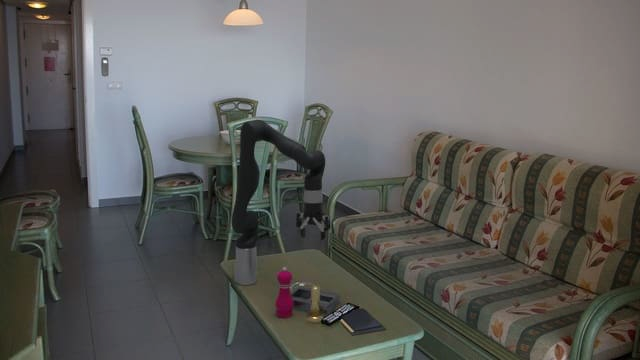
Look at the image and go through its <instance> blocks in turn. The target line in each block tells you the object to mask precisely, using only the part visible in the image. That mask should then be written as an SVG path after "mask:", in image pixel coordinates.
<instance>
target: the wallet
mask: <svg viewBox="0 0 640 360" xmlns="http://www.w3.org/2000/svg"><path fill="white" fill-rule="evenodd" d="M355 309H356V310H354V309H352V310H353V311H352V312H350V313H348V314H346V315H344V316H342V319H341V320H340V321H341V322H342V323H341V324H342V325H343V326H342V325H341V326H342V328H344V329H345V330H346V331H347V332H348V333H349V334H350V335H351V336H352V337H353V336H362V335H365V334H366V335H367V334H371V333H378V332H384V331H386V330H387V328H386V327H385V326H384V325H383V324H382V323H381V322H379V321H378V319H376V318H375V317H374V316H373V315H372V314H371V313H370V312H369V311H368V310H367V309H366V308H363V307H362V308H355Z"/></svg>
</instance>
